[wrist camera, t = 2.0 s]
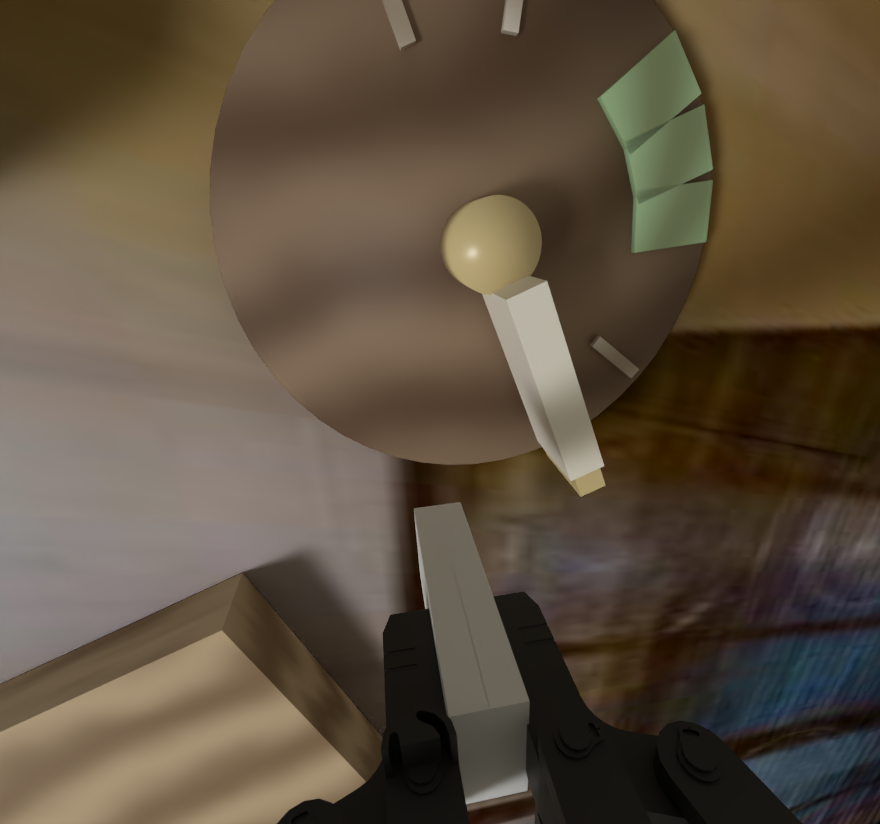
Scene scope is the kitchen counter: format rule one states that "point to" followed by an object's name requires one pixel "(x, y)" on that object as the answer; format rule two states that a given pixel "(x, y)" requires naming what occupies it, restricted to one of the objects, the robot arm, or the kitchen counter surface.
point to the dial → (454, 203)
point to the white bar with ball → (525, 327)
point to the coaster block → (182, 723)
